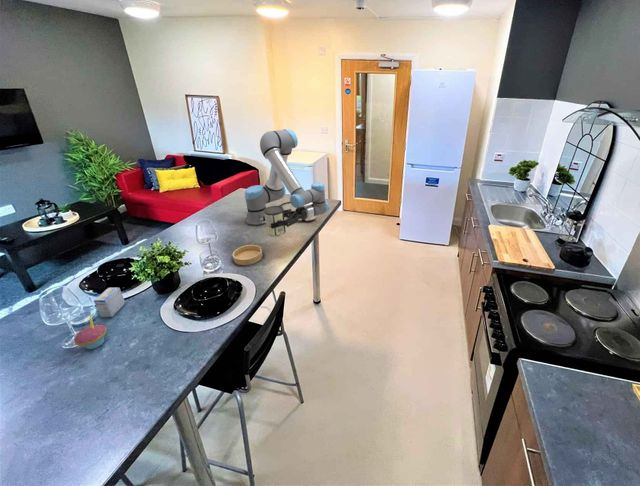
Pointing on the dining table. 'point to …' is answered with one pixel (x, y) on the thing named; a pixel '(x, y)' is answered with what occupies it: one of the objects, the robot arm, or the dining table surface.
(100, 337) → the cupcake
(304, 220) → the spread jar
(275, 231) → the coffee can
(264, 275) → the dining table surface
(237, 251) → the round tan tray
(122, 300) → the medicine box
